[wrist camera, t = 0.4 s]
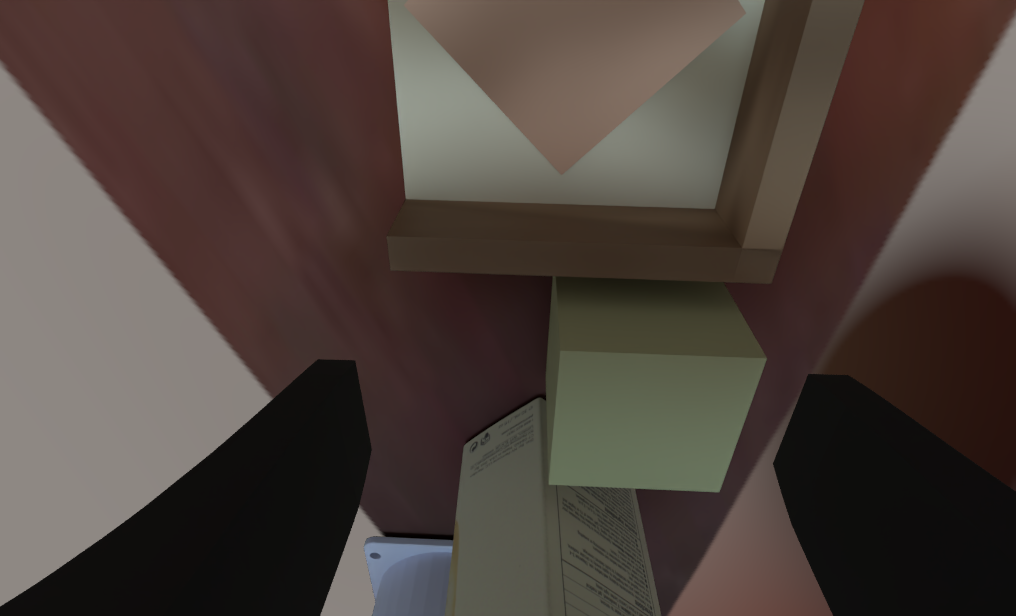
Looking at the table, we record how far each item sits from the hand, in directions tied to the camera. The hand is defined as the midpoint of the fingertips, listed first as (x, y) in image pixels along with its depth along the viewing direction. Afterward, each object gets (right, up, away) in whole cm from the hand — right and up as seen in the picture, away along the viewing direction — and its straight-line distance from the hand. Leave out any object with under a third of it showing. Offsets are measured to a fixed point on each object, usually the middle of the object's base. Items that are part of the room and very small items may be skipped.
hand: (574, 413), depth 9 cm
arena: (+1, +9, +5) cm, 10 cm away
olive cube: (+3, +1, +10) cm, 10 cm away
